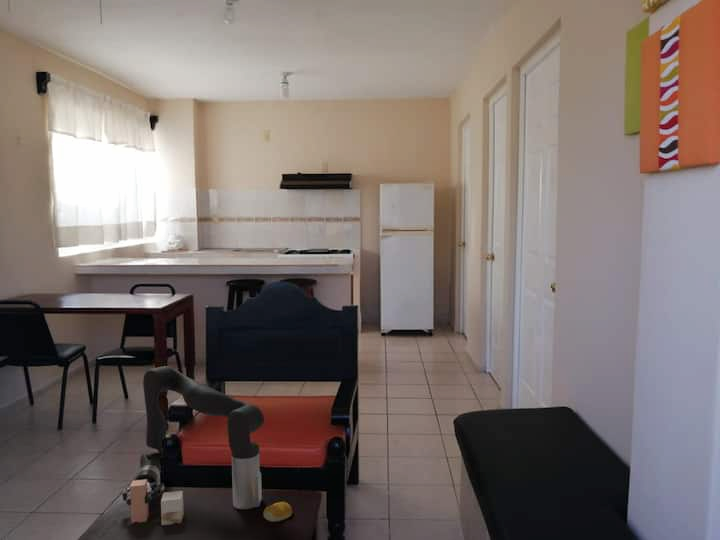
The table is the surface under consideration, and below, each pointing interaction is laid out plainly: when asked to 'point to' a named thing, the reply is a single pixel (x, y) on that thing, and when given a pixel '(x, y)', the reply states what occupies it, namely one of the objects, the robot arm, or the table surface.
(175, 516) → the tower base
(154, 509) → the table surface
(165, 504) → the white short block
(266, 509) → the bread roll
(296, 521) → the table surface
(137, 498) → the pillar
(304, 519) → the table surface
